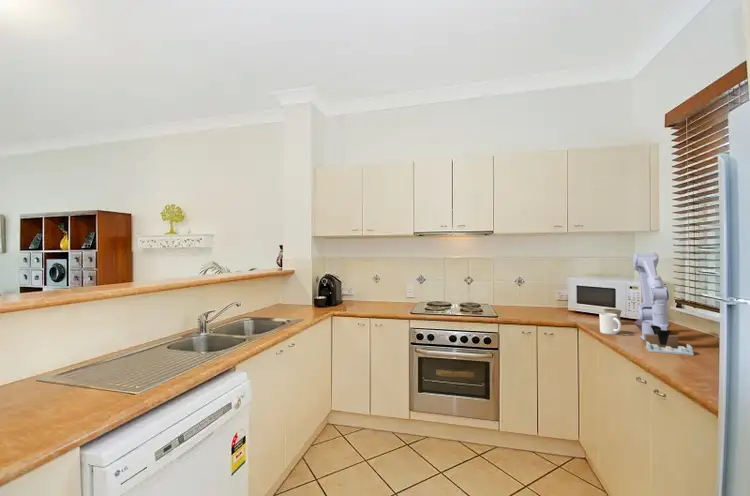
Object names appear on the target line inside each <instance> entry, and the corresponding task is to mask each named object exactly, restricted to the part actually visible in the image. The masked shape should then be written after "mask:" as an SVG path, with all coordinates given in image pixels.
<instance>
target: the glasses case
mask: <svg viewBox="0 0 750 496" xmlns="http://www.w3.org/2000/svg"><path fill="white" fill-rule="evenodd" d="M643 341H644V346H645V347H646V342H649V343H650V344H657V345H658V346H659V347H663V348H666V346H669V347H671V348H676V349H678V346H680V345H679V343H680V341H679V336H677V335H675V334H674V335H673V334H672V335H671V334H670V335H669V337H668V340H667V344H666V345H660V342H659V338H658V335H657V334H644V340H643Z"/></svg>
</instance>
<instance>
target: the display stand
mask: <svg viewBox="0 0 750 496" xmlns="http://www.w3.org/2000/svg"><path fill="white" fill-rule="evenodd" d="M685 346H686V347H685ZM685 346H682V345H679V346H678V349H676V348H671V347H669V346H666V348H663V347H659V346H658V345H657V344H650V343H649V342H646V346H645V348H646V350H647V351H648V352H649V353H659V354H661V353H662V354H670V355H671V354H673V355H684V356H694V350H693V346H691V344H686V345H685Z"/></svg>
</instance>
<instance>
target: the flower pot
mask: <svg viewBox="0 0 750 496" xmlns="http://www.w3.org/2000/svg"><path fill="white" fill-rule="evenodd" d="M603 312H604V313H612V314H617V319H618V320H619V321H620V322H621V314H622V312H623V310H622V309H618V308H617V309H616V308H604V309H603Z"/></svg>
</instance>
